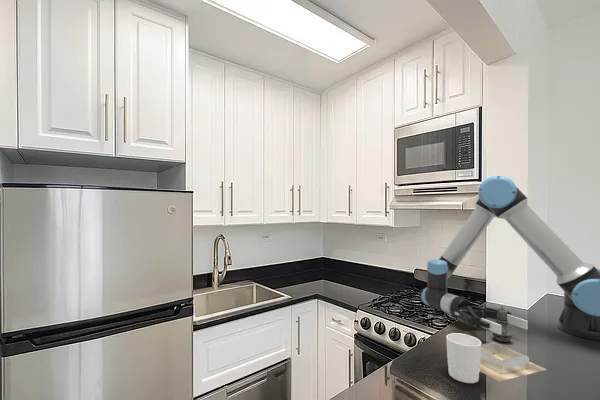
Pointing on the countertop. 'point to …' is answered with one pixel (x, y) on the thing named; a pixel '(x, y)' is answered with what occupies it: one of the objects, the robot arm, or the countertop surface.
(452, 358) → the white cup
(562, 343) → the countertop surface
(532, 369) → the flange board
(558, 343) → the countertop surface
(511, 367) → the collar
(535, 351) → the countertop surface
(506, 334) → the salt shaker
